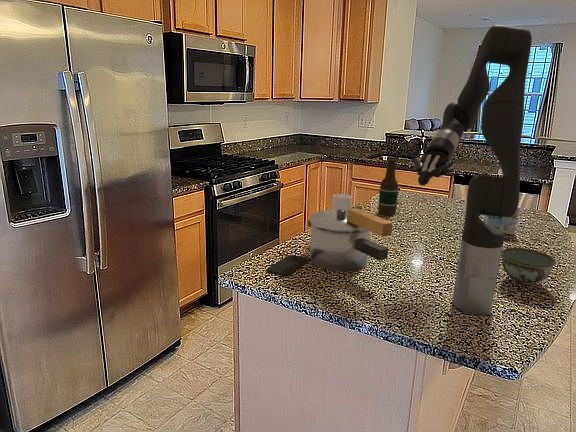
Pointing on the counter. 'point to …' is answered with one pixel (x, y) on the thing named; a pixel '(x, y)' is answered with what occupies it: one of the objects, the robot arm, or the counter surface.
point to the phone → (287, 265)
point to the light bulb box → (503, 222)
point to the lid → (350, 222)
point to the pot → (343, 250)
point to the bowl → (526, 265)
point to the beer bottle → (388, 191)
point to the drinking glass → (341, 202)
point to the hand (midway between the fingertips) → (421, 183)
